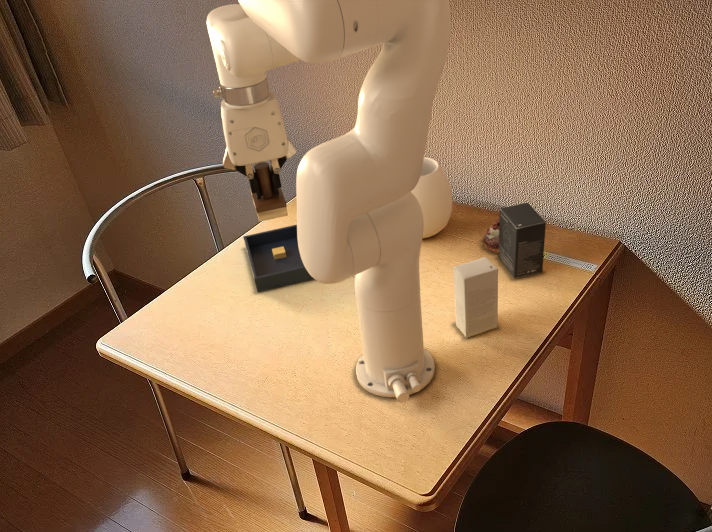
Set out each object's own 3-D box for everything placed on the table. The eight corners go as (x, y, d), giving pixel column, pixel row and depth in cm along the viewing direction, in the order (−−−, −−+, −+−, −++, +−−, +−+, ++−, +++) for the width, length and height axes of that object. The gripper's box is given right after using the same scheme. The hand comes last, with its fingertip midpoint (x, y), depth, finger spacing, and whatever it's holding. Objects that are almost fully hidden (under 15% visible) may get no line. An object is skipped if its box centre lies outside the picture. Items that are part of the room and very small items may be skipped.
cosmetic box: (486, 314, 127) (486, 255, 118) (498, 328, 124) (499, 268, 115) (454, 325, 125) (452, 266, 117) (465, 339, 122) (464, 279, 114)
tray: (320, 277, 140) (318, 264, 138) (257, 292, 138) (254, 279, 136) (304, 236, 152) (301, 223, 150) (246, 249, 150) (242, 236, 148)
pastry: (475, 239, 144) (475, 217, 141) (509, 228, 146) (510, 206, 142) (496, 259, 138) (497, 236, 135) (531, 247, 140) (532, 224, 137)
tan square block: (286, 257, 145) (285, 252, 145) (274, 260, 145) (273, 254, 144) (284, 251, 147) (283, 246, 146) (272, 253, 147) (271, 248, 146)
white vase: (403, 208, 156) (399, 147, 147) (462, 217, 151) (461, 155, 142) (377, 240, 148) (370, 178, 139) (438, 250, 143) (435, 187, 134)
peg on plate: (288, 215, 131) (280, 171, 125) (258, 222, 130) (249, 177, 124) (281, 197, 136) (273, 153, 130) (253, 203, 135) (243, 159, 130)
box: (543, 272, 134) (546, 221, 127) (513, 279, 133) (516, 228, 126) (525, 251, 140) (528, 201, 132) (497, 257, 139) (498, 207, 132)
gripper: (198, 109, 115) (225, 213, 127) (299, 89, 117) (315, 193, 129) (194, 92, 120) (220, 193, 133) (290, 73, 122) (307, 175, 135)
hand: (267, 192), depth 131 cm, fingers closed on peg on plate, 2 cm apart
